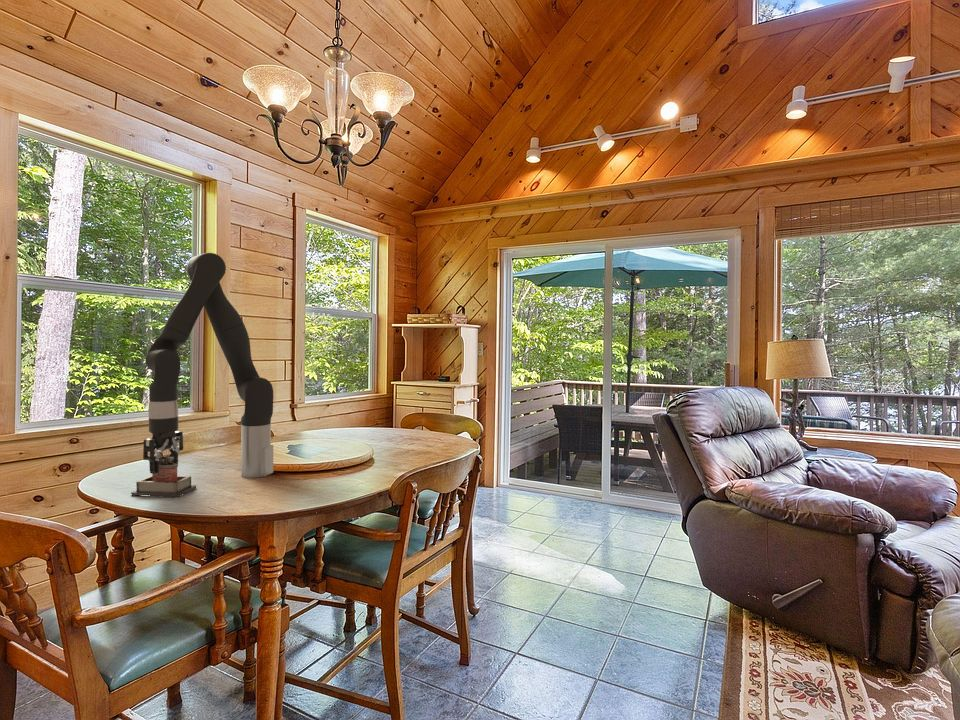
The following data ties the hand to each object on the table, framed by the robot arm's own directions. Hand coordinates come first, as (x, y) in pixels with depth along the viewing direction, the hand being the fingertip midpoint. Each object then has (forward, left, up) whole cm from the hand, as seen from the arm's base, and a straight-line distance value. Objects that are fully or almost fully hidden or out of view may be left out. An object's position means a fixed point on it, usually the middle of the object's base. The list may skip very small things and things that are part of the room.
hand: (164, 469), depth 154 cm
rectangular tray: (0, 0, -7) cm, 7 cm away
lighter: (0, 0, -6) cm, 6 cm away
